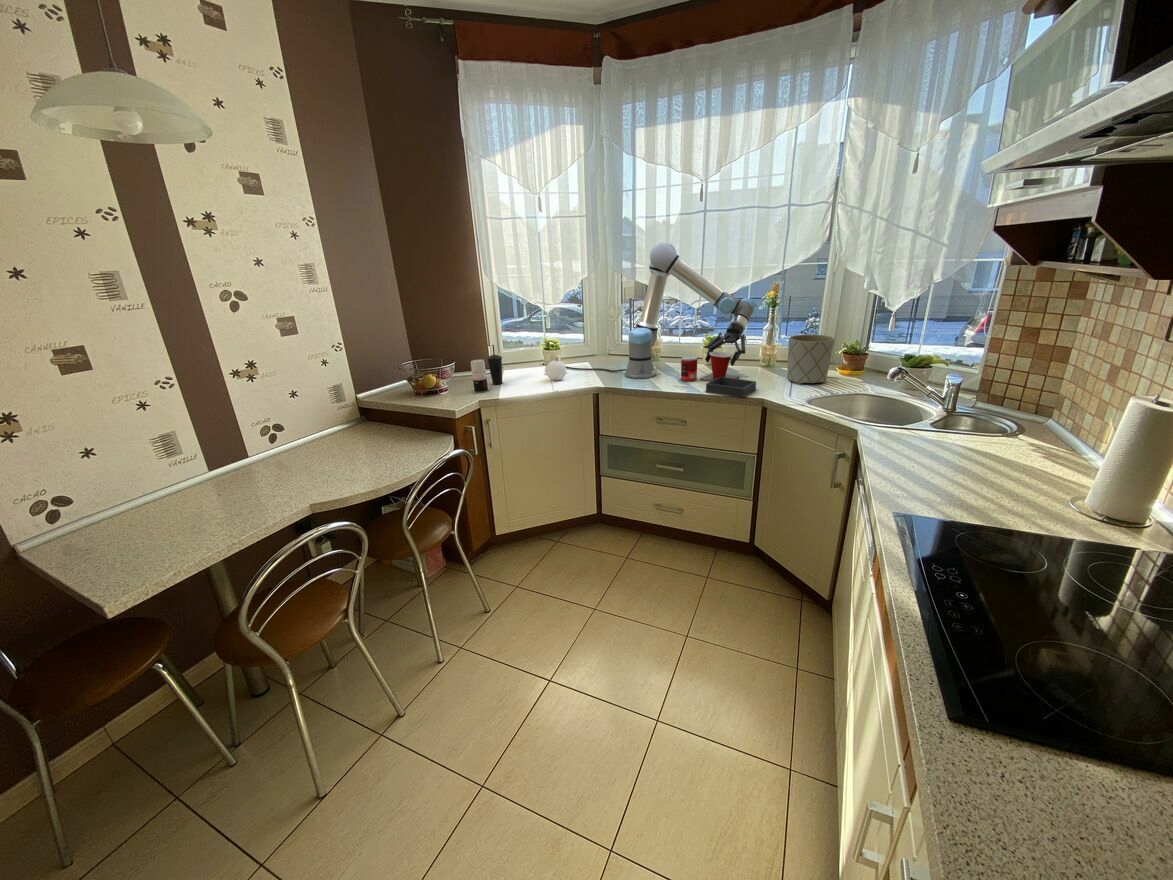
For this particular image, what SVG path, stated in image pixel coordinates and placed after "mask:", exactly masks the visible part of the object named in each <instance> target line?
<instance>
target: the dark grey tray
mask: <svg viewBox="0 0 1173 880" xmlns="http://www.w3.org/2000/svg"><path fill="white" fill-rule="evenodd" d="M756 390H757V381H755V380H750V379H749V380H748V379H741V378H737V379H734V378H726V377H719V378H717V379H715V380H713V381H708V382H707V383H705V393H708V394H715V395H723V396H727V397H734V398H740V399H743V398H745V397H746V396H748V395H750V394H752V393H754V392H756Z"/></svg>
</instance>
